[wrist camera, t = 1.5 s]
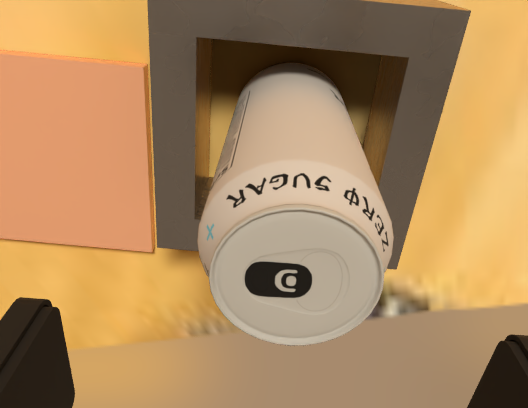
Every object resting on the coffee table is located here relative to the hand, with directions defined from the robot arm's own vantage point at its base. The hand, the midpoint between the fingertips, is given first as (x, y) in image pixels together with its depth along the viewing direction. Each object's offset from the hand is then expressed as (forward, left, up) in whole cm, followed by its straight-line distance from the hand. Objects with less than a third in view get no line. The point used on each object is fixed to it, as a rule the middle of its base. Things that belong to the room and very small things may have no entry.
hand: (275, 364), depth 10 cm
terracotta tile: (+13, +4, -18) cm, 23 cm away
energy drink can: (-1, 0, -18) cm, 18 cm away
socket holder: (-1, 0, -18) cm, 18 cm away
